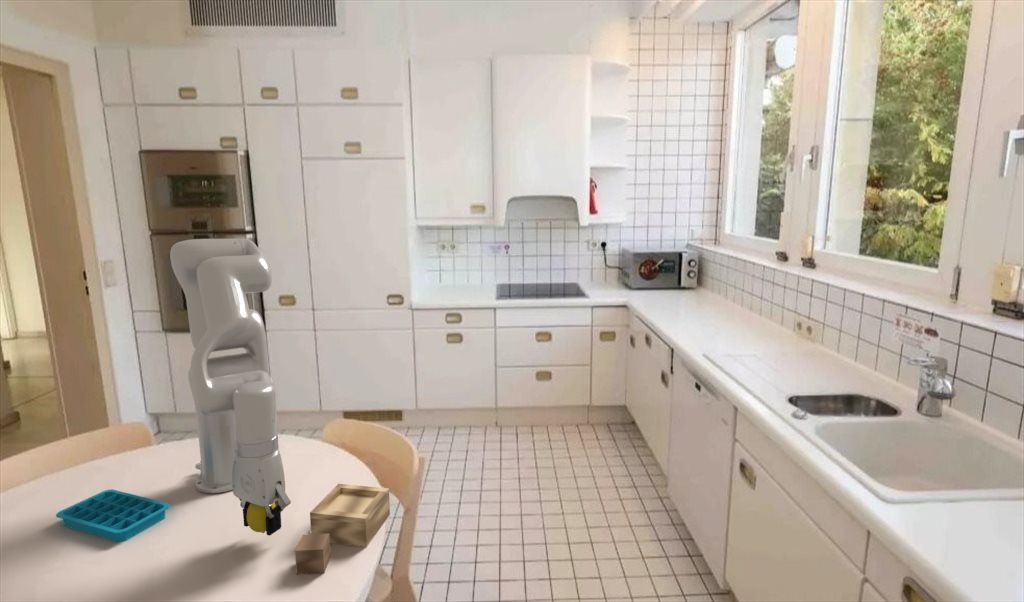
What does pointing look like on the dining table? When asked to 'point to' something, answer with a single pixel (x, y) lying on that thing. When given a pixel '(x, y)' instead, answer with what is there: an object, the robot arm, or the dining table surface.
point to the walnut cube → (313, 554)
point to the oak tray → (351, 514)
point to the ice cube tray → (114, 514)
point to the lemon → (257, 517)
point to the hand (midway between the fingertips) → (262, 526)
